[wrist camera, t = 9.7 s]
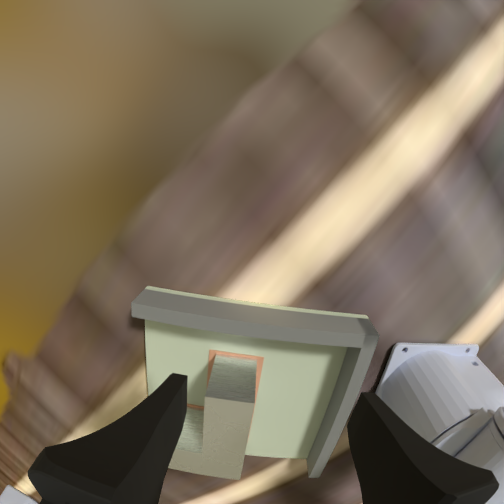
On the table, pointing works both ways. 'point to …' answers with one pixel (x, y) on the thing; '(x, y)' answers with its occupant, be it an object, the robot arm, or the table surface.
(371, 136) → the table surface
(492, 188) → the table surface
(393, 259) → the table surface
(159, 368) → the arena
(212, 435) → the bracket
